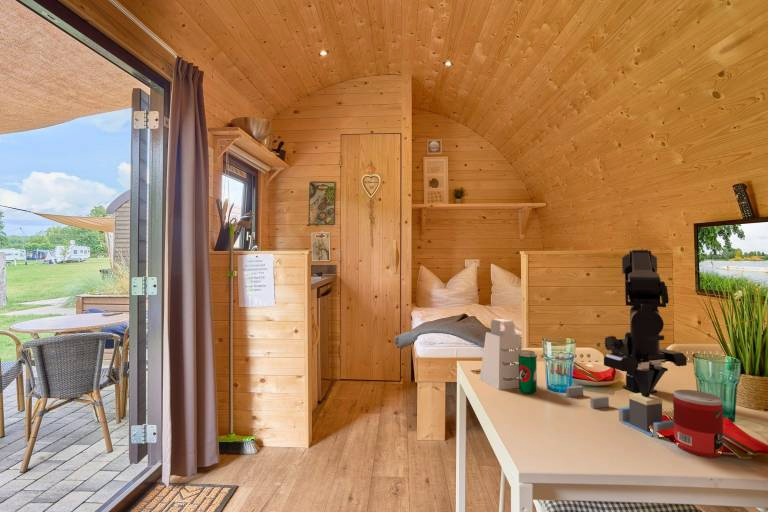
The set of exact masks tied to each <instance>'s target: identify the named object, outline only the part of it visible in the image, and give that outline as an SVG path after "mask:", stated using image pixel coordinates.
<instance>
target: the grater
mask: <svg viewBox="0 0 768 512" xmlns="http://www.w3.org/2000/svg"><path fill="white" fill-rule="evenodd" d="M501 322H502V323H503V325H504V330H501ZM515 330H516V329H515V323H514V321H513V320H509V319H505V318H493V319H491V321H490V331H486V332H485V337H484V344H483V353H482V359H481V366H480V375H479V381H481V382H483V383H485V384H486V385H489V386H491V387H493V388H495V389H497V390H498V391H499V390H508V389H514V388H519V361H518V355H519V353H520V351H521V350H523V348H522V343H521V335H520V334H518V333H515ZM511 378H512V379H511ZM506 379H511V380H506ZM513 379H514V380H513Z"/></svg>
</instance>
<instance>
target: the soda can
mask: <svg viewBox="0 0 768 512" xmlns="http://www.w3.org/2000/svg"><path fill="white" fill-rule="evenodd" d="M537 358H538V356H537V354H536V352H535V351H533V350H531V349H522V350H521V351H520V353H519V355H518V361H519V362H518V364H519V387H518V391H519V392H520V393H521V394H524V395H535V394H537V391H538V386H537V385H538V380H537V376H538V374H537V373H538V371H537V370H538V368H537V366H538V365H537V364H538V363H537V362H538V361H537Z"/></svg>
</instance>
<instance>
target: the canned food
mask: <svg viewBox="0 0 768 512" xmlns="http://www.w3.org/2000/svg"><path fill="white" fill-rule="evenodd" d="M672 397H673V401H672V402H673V421H674V436H673V438H674V437H675V439H676V440H678V441H679V442H680V443H679V444H678V446H677V448H679V449H680V450H682V451H684V452H686V453H689V454H691V455H696V456H699V457H700V456H701V457H706V458H719V457H721V456H722V455H721V454H720V453H718V451H720V450H722V449H723V450H724V416H723V415H724V407H723V405H724V404H723V399H722V398H721V397H719V396H718V395H715V394H712V393H709V392H705V391H701V390H700V391H699V390H693V389H676V390H674V391H673V396H672Z"/></svg>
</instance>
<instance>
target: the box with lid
mask: <svg viewBox="0 0 768 512" xmlns="http://www.w3.org/2000/svg"><path fill="white" fill-rule="evenodd" d="M628 399H629V402H628V403H629V405H628V407H629V408H630V424H631V425H633V426H635V427H638V428H640V429H642V430H644V431H646V432H649V431H650V428H649V426H650V425H652V424H653V423H654V422H661V421H663V398H661V397H658V396H655V395H654V394H653V395H652V394H650V396H649V397H644V396H642V394H641V393H636V392H634V393H629V394H628Z"/></svg>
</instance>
